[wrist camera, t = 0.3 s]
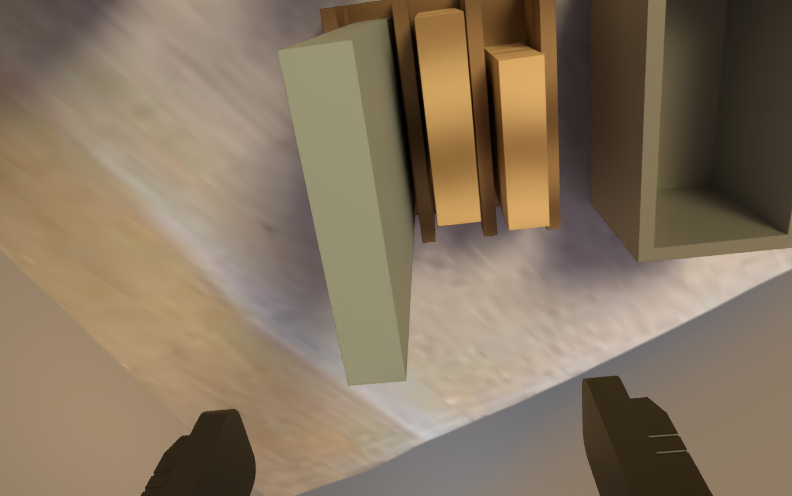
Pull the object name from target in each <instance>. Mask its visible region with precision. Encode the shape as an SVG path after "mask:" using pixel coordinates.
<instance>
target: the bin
mask: <svg viewBox="0 0 792 496" xmlns="http://www.w3.org/2000/svg"><path fill="white" fill-rule="evenodd" d="M591 204H592V205H593V207H594V208H595V209H596V210H597V212H598V213H599V214H600V215H601V217H602V218H603V219H604V220H605V222H606V223H607V224H608V225H609V227H610V228H611V229H612V230H613V232H614V233H615V234H616V235H617V237H618V238H619V239H620V241H621V242H622V243H623V244H624V246H625V247H626V248H627V249H628V251H629V252H630V253H631V254H632V256H633V257H634V258H635V259H636V261H637V262H638V263H642V262H652V261H662V260H672V259H682V258H692V257H702V256H712V255H722V254H733V253H743V252H753V251H763V250H773V249H783V248H792V0H591Z"/></svg>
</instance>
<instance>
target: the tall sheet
mask: <svg viewBox="0 0 792 496" xmlns="http://www.w3.org/2000/svg"><path fill="white" fill-rule="evenodd" d="M278 56H279V60H280V65H281V70H282V75H283V79H284V84H285V89H286V94H287V98H288V103H289V108H290V113H291V117H292V122H293V127H294V132H295V136H296V141H297V146H298V151H299V155H300V160H301V165H302V170H303V174H304V179H305V184H306V189H307V193H308V198H309V203H310V208H311V212H312V217H313V222H314V227H315V231H316V236H317V241H318V246H319V250H320V255H321V260H322V265H323V269H324V274H325V279H326V284H327V288H328V293H329V298H330V303H331V307H332V312H333V317H334V322H335V326H336V331H337V336H338V341H339V345H340V350H341V355H342V360H343V364H344V369H345V374H346V379H347V383H348V386H350V385H363V384H375V383H387V382H399V381H406V374H407V355H408V336H409V318H410V299H411V280H412V261H413V242H414V223H415V204H416V201H415V193H414V186H413V178H412V170H411V163H410V155H409V147H408V140H407V132H406V124H405V117H404V109H403V101H402V94H401V86H400V78H399V71H398V63H397V56H396V48H395V40H394V33H393V25H392V17H387V18H380V19H374V20H367V21H360V22H355V23H352V24H349V25H347V26H344V27H341V28H338V29H336V30H333V31H330V32H327V33H325V34H322V35H319V36H316V37H314V38H311V39H308V40H305V41H303V42H300V43H297V44H294V45H292V46H289V47H286V48H283V49H281V50H278Z"/></svg>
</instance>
